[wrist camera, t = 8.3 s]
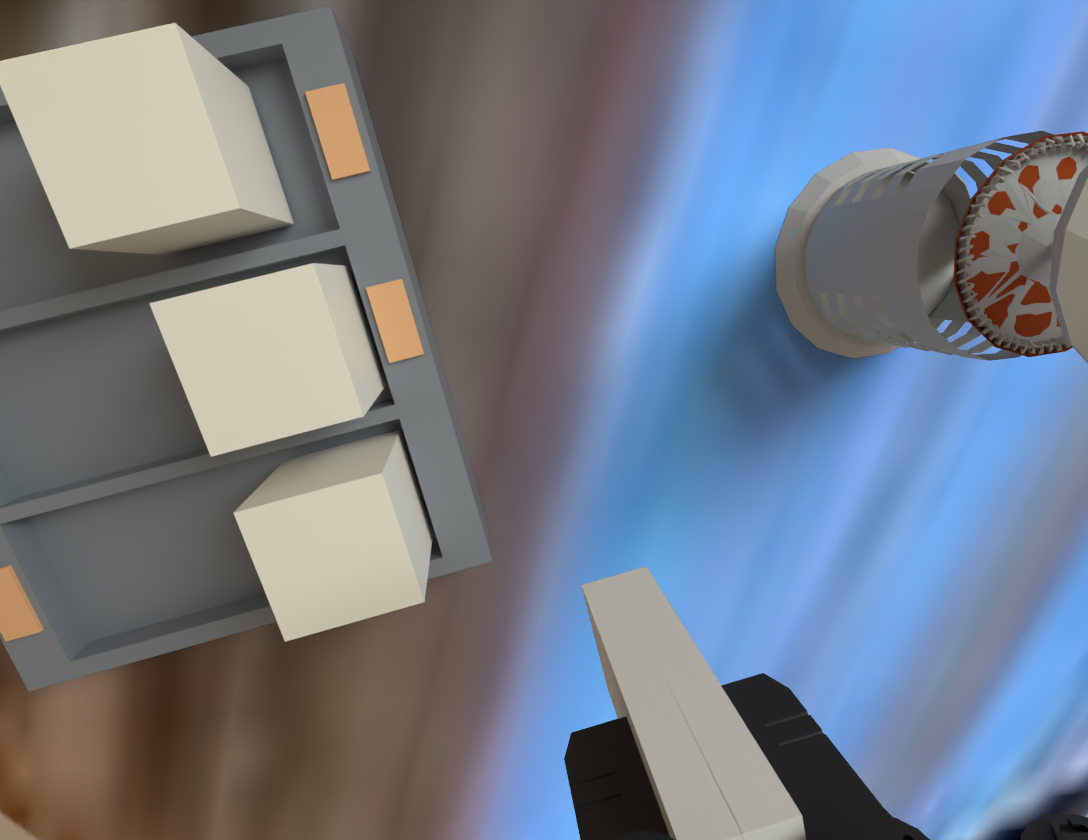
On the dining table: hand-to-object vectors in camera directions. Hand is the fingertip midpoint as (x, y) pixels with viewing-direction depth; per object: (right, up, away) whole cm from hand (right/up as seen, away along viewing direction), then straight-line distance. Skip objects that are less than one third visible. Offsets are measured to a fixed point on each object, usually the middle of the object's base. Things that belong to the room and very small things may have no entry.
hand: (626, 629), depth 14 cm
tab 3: (-10, +1, +13) cm, 16 cm away
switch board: (-17, +7, +13) cm, 23 cm away
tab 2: (-12, +8, +11) cm, 18 cm away
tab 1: (-15, +14, +10) cm, 22 cm away
